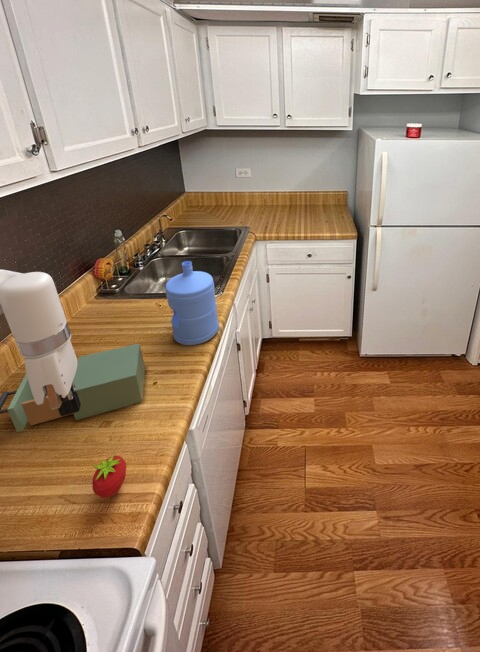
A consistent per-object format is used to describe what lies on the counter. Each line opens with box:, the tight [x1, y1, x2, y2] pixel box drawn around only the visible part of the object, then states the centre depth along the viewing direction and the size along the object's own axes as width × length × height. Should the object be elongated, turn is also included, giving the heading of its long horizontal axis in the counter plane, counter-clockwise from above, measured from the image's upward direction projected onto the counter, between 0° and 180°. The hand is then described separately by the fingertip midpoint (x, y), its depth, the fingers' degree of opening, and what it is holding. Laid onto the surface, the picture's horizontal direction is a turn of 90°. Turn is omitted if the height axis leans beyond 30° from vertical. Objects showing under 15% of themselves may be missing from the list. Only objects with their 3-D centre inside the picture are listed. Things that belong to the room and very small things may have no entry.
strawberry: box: [91, 453, 127, 499], centre depth 69 cm, size 6×8×10 cm
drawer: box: [0, 373, 74, 433], centre depth 88 cm, size 19×12×8 cm, turn 113°
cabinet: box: [73, 342, 146, 421], centre depth 93 cm, size 16×14×10 cm
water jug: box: [165, 260, 220, 346], centre depth 115 cm, size 16×16×28 cm
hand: (71, 410), depth 67 cm, fingers closed
